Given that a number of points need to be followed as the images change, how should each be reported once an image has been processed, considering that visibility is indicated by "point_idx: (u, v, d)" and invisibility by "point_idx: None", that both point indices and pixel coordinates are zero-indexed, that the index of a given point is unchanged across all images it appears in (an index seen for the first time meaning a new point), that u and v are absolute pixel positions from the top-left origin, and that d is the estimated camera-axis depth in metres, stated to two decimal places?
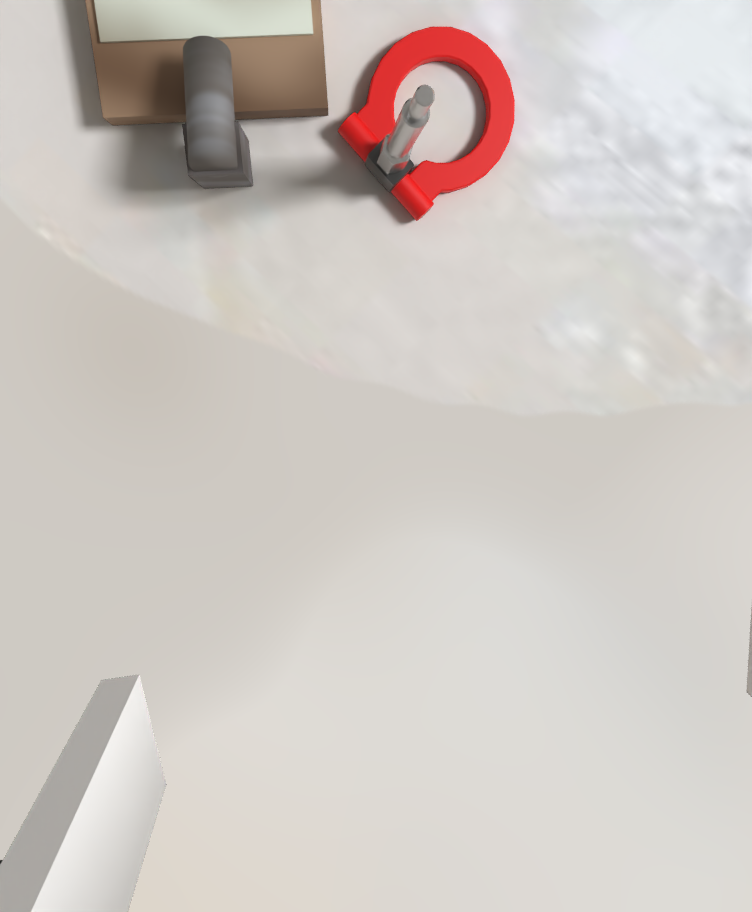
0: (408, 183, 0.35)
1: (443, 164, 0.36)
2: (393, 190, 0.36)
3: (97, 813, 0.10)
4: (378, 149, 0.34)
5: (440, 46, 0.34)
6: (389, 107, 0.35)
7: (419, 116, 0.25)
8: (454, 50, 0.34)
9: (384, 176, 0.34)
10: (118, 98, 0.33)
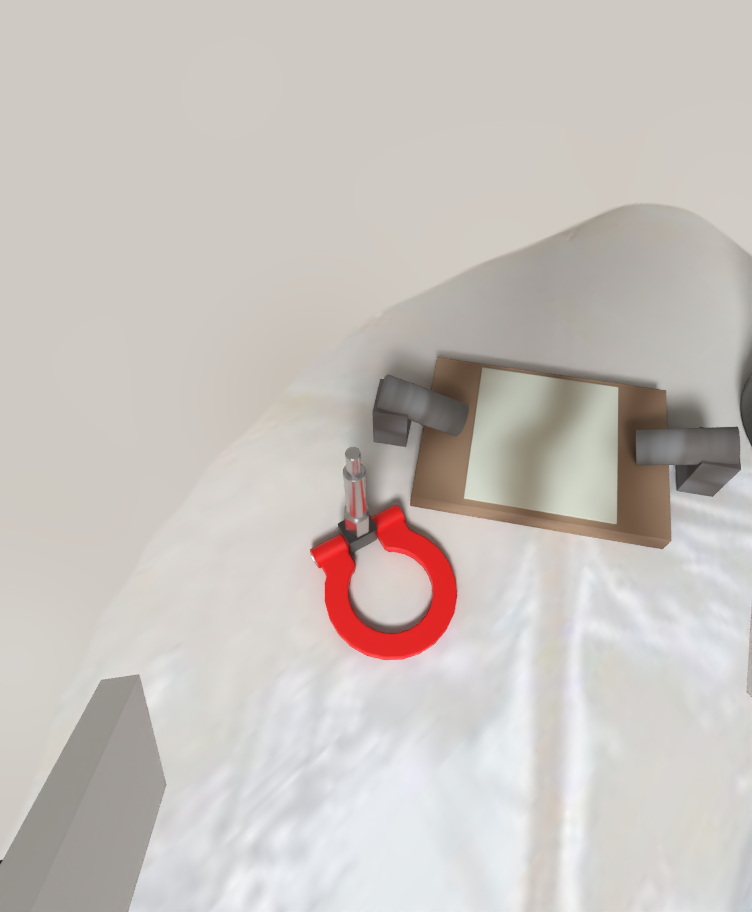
0: (339, 545, 0.41)
1: (347, 581, 0.40)
2: (338, 534, 0.41)
3: (97, 813, 0.10)
4: None
5: (440, 599, 0.39)
6: (402, 546, 0.41)
7: None
8: (435, 611, 0.39)
9: None
10: (447, 368, 0.47)
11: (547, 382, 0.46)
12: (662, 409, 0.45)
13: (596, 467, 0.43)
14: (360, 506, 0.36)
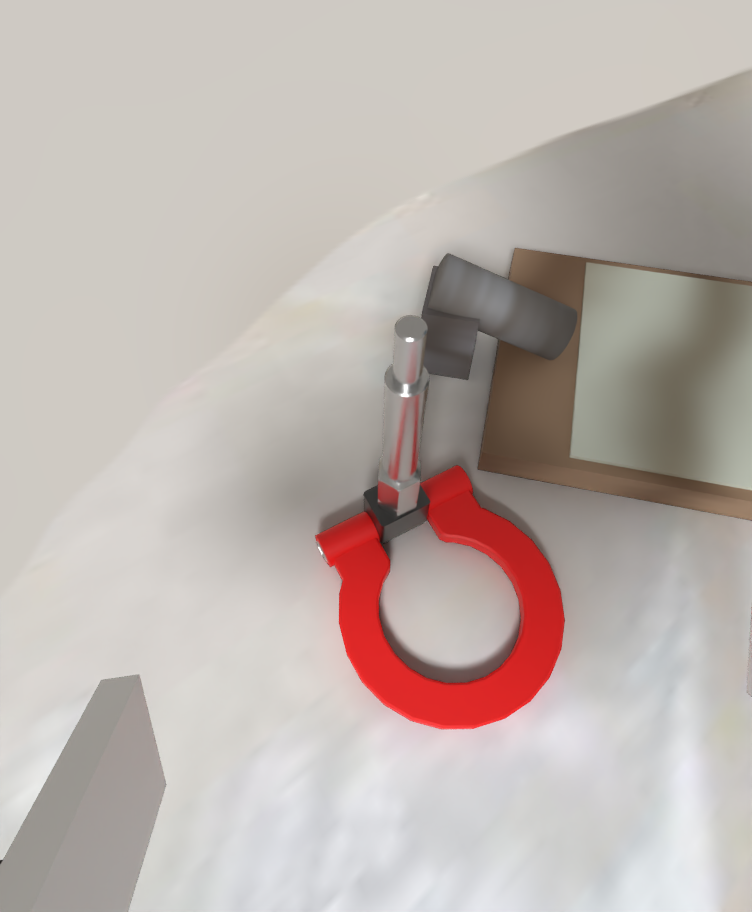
0: (365, 529, 0.24)
1: (378, 589, 0.24)
2: (363, 512, 0.25)
3: (97, 813, 0.10)
4: None
5: (536, 625, 0.23)
6: (469, 533, 0.25)
7: (393, 356, 0.16)
8: (528, 645, 0.23)
9: None
10: (531, 263, 0.31)
11: (690, 284, 0.30)
12: None
13: None
14: (410, 456, 0.19)
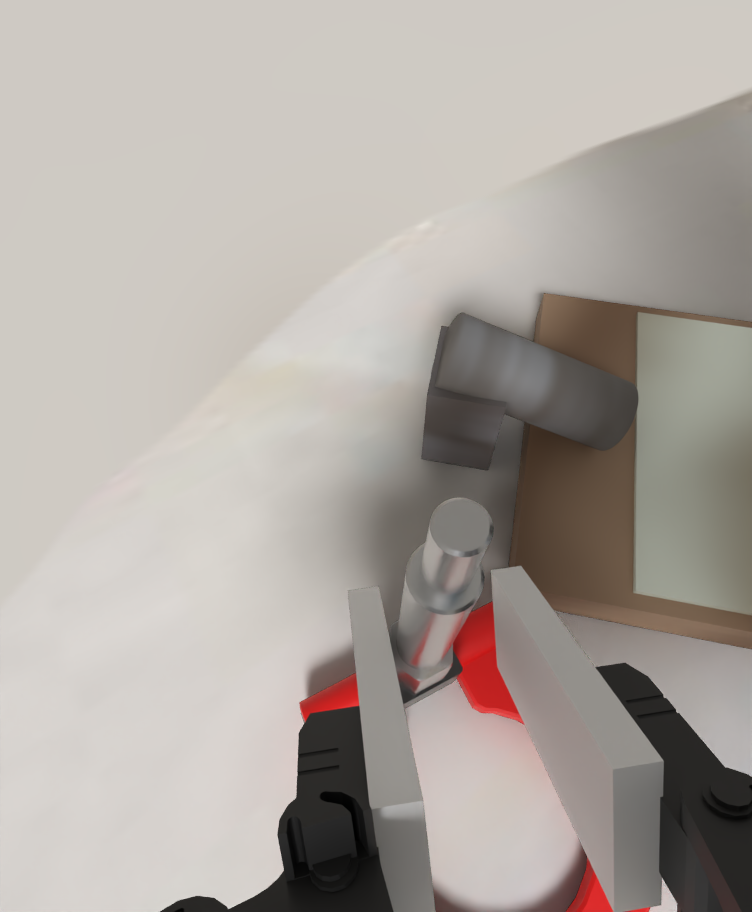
0: None
1: None
2: None
3: None
4: None
5: None
6: None
7: None
8: (604, 893, 0.16)
9: None
10: (566, 314, 0.24)
11: None
12: None
13: None
14: (441, 652, 0.12)
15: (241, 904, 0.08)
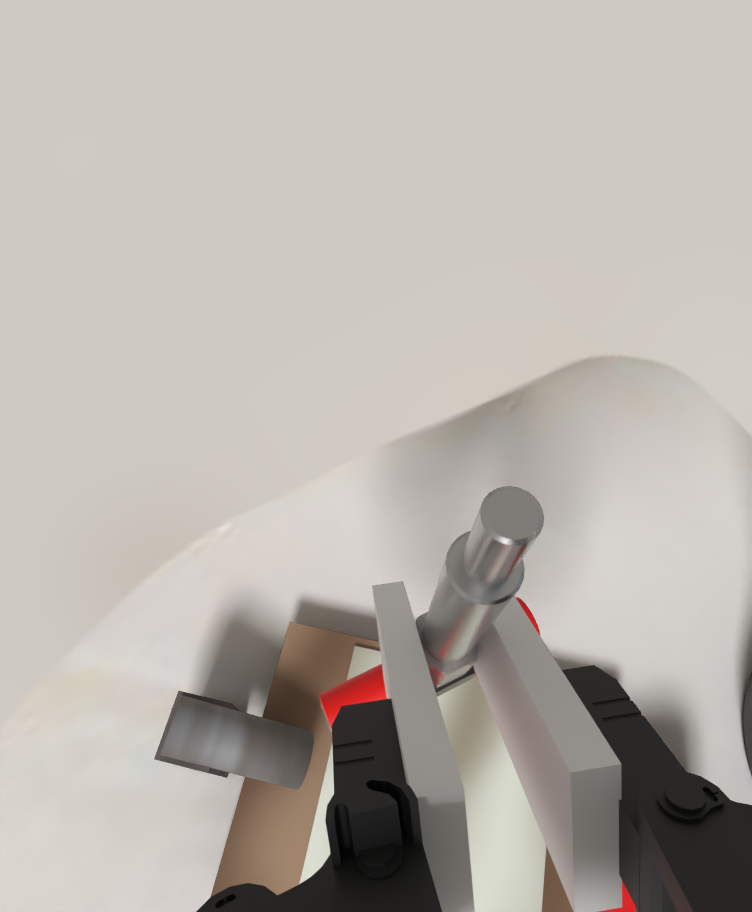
0: None
1: None
2: None
3: None
4: None
5: None
6: None
7: (467, 540, 0.09)
8: (622, 893, 0.16)
9: None
10: (302, 643, 0.31)
11: None
12: None
13: (512, 854, 0.27)
14: (470, 646, 0.12)
15: (286, 892, 0.08)
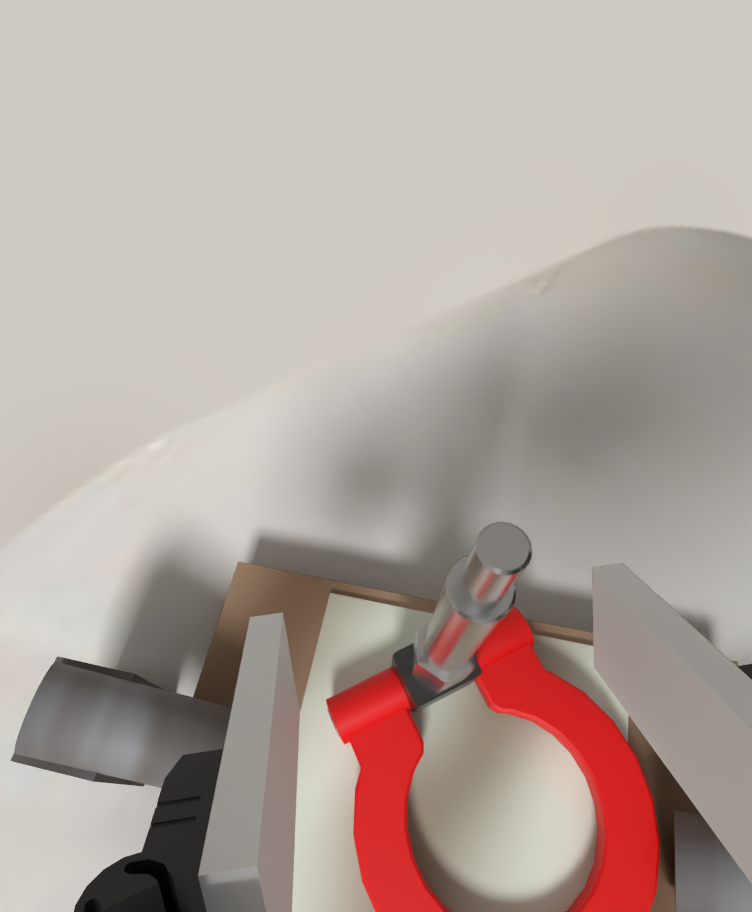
0: (392, 698, 0.18)
1: (407, 786, 0.18)
2: (389, 669, 0.19)
3: (279, 716, 0.12)
4: None
5: (622, 853, 0.17)
6: (530, 708, 0.19)
7: (465, 566, 0.10)
8: (611, 884, 0.17)
9: (413, 644, 0.18)
10: (254, 591, 0.22)
11: None
12: None
13: None
14: (468, 656, 0.13)
15: None
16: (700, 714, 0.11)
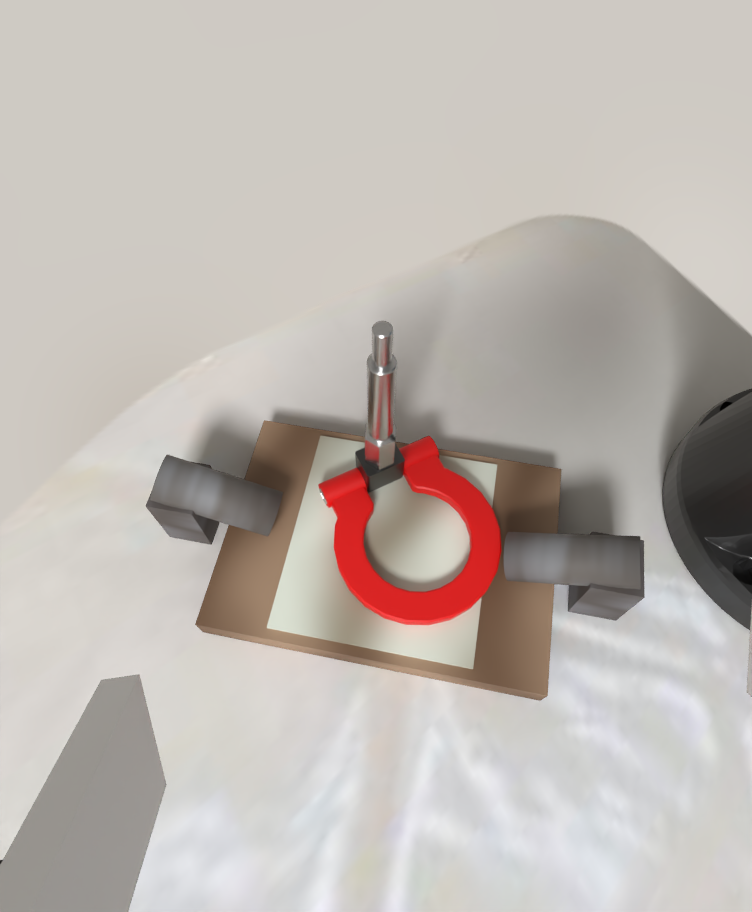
0: (355, 480, 0.32)
1: (363, 524, 0.32)
2: (355, 468, 0.33)
3: (97, 813, 0.10)
4: None
5: (480, 553, 0.31)
6: (434, 486, 0.33)
7: None
8: (473, 567, 0.31)
9: None
10: (274, 436, 0.36)
11: None
12: (553, 496, 0.34)
13: None
14: (386, 419, 0.27)
15: None
16: None
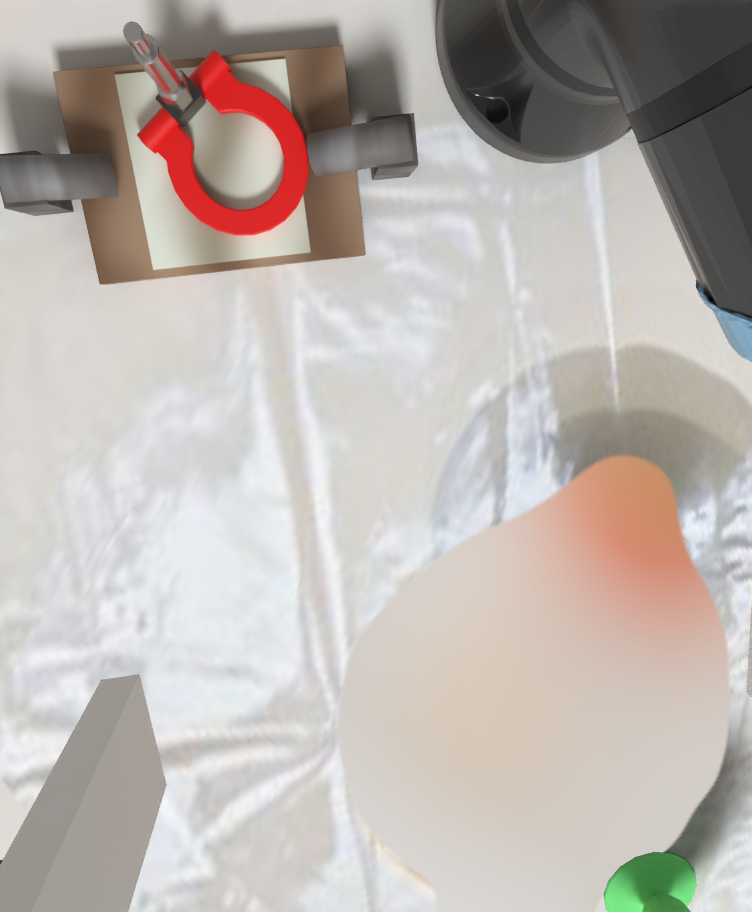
0: (167, 122, 0.36)
1: (190, 162, 0.37)
2: (161, 108, 0.36)
3: (97, 813, 0.10)
4: (187, 82, 0.35)
5: (292, 159, 0.38)
6: (236, 105, 0.37)
7: None
8: (289, 173, 0.38)
9: None
10: (72, 88, 0.37)
11: None
12: (341, 78, 0.38)
13: None
14: (170, 82, 0.31)
15: None
16: None
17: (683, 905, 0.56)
